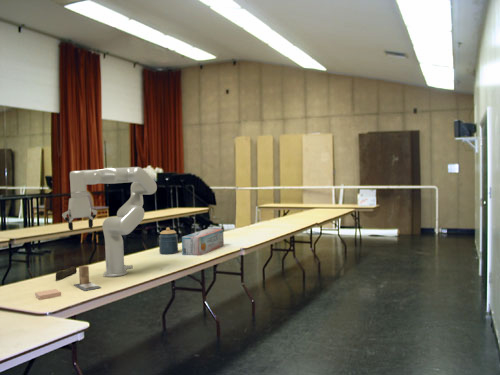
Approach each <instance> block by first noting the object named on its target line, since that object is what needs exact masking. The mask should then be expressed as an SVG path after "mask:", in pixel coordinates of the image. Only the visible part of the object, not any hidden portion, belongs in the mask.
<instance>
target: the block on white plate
mask: <svg viewBox="0 0 500 375" xmlns="http://www.w3.org/2000/svg"><path fill="white" fill-rule="evenodd" d="M89 270H90V268H89V265H80V266H78V273H79V275H78V277H79V284H80V287H82V288H84V289H89V288H94V287H98V286H99V285H97V284H95V283H93V282H91V283H89V282H90V271H89Z"/></svg>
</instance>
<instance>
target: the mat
mask: <svg viewBox="0 0 500 375" xmlns="http://www.w3.org/2000/svg"><path fill="white" fill-rule="evenodd" d="M89 283H92V282H91V281H89ZM73 287H76V288H78V289H79V290H81V291H83V292H88V290H89V291H93V290H98V289H99V290H100V289H102V287H101V286H99V285H98V287H94V288H89V289H84V288H82V287H80V283H75V284H73Z"/></svg>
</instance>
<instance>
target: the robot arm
mask: <svg viewBox="0 0 500 375" xmlns="http://www.w3.org/2000/svg"><path fill="white" fill-rule="evenodd" d="M69 182H70V184H69V185H70V198H68V208H67V210H66V211H65V212H63V213H61V214H62V215H61V216H62V218H63V219H64V220H65V221H66V222H67V227H68V230H69V231H73V230H74V226H73V225H74V224H73V220H74V219H81V218H87V219H88V221H87V223H88V228H90V229H92V228H93V227H94V219H95V218H96V217H97V214H98V210H95V209H93V208H91V203H90V199H89V197H88V196H90V193H91V192H89V191H87V185H97V184H105V185H106V184H110V185H111V184H123V183H131V185H130V197H129V199H128V200H127V201H126V202H125V203H124V204H123V205H122V206H121V207H119V208H118V210H117V212H116V216H109V217H106V218H105V219H104V220H103V222H102V231H103V232H102V233H103V236H104V248H105V271H104V272H103V276H104V277H106V278H107V277H110V278H111V277H112V278H113V277H114V278H116V277H121V276H122V277H123V276H126V275H127V274H128V270H132V269H133V268H134V266H133V264H129V265H126V264H125V256H124V249H125V248H124V239H123V237H122V236H126V235H129V234H130V233H132V232H133V231H134V230H135V229H136V227H138V225H139V224H141V222H142V221H143V219H144V218H145V210H144V208H143V207H144V206H143V205H144V197H143V195H153V194H155V193H156V192H157V189H158V187H157V186H158V185H157V183H156V181H155V179H154V178H152V176H151V175H149V173H148V172H147V171H146V170H145V169H143V168H142V167H140V166H130V167H107V168H101V169H83V170H72V171H70V172H69ZM92 213H93V214H92ZM67 215H68V216H67Z"/></svg>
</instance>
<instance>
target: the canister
mask: <svg viewBox="0 0 500 375" xmlns="http://www.w3.org/2000/svg"><path fill="white" fill-rule="evenodd" d="M159 234H160V235H158V238H159V240H158V243H159V245H158V246H159V250H158V252H159V254H160V255H174V254H177V253H179V243H178V242H179V240H178V234H177V231H175V230H174V229H171V228H170V227H166V228H165V230H161V232H159Z"/></svg>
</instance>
